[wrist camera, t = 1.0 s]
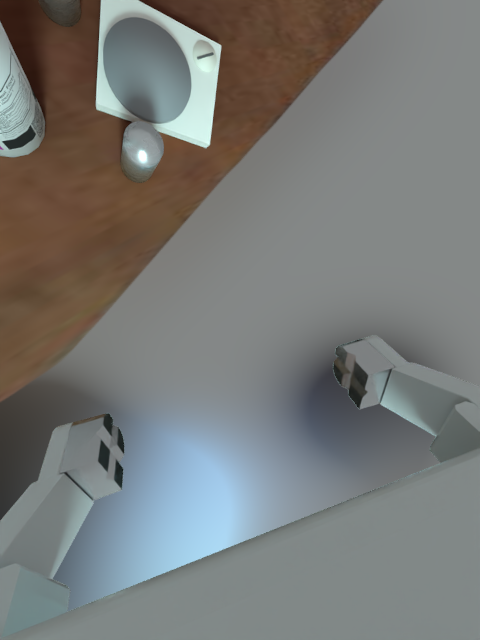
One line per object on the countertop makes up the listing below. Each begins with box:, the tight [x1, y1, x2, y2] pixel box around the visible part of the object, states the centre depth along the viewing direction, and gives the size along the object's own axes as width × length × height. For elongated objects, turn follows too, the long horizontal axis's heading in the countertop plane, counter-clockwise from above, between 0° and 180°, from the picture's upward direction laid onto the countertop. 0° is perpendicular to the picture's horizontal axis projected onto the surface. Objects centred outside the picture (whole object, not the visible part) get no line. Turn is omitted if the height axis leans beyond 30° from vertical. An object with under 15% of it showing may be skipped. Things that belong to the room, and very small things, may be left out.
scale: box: [96, 0, 221, 148], centre depth 34 cm, size 14×12×2 cm
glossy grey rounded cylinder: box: [120, 121, 164, 183], centre depth 32 cm, size 4×4×8 cm
